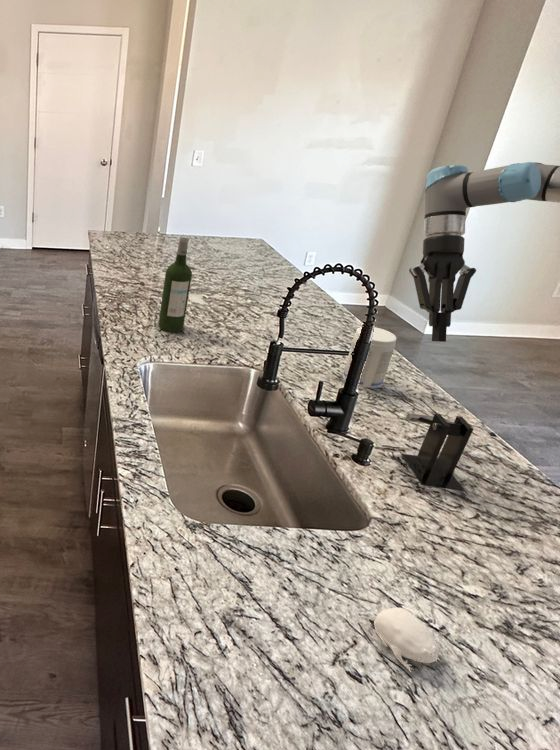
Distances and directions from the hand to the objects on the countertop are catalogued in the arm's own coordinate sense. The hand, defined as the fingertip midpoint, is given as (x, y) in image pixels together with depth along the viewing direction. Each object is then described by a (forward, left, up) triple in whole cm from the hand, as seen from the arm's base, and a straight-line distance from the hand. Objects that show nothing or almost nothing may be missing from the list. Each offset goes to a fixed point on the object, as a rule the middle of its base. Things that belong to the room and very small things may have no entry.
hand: (438, 341), depth 121 cm
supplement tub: (+10, -14, -22) cm, 28 cm away
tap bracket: (-3, +22, -21) cm, 31 cm away
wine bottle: (+65, -20, -22) cm, 72 cm away
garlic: (+4, +68, -22) cm, 71 cm away
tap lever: (-1, +18, -13) cm, 22 cm away
